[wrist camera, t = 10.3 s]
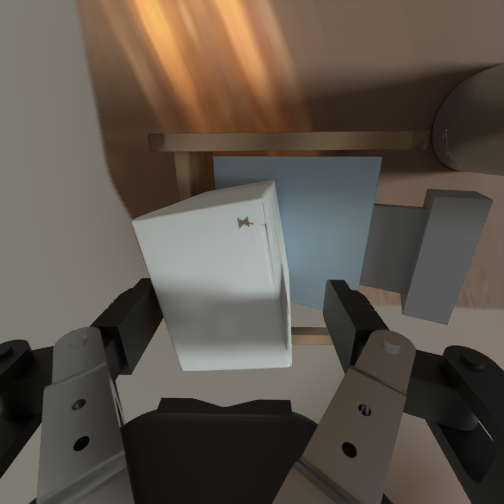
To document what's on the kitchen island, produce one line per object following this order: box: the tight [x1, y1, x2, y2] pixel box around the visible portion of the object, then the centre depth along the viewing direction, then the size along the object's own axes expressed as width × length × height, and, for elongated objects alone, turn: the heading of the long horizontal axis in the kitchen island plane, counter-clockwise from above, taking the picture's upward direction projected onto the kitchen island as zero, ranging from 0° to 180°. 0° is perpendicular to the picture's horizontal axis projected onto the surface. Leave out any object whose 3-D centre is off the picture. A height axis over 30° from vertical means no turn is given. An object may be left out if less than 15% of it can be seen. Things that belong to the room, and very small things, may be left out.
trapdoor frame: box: [148, 131, 430, 345], centre depth 23 cm, size 15×15×14 cm
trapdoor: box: [213, 156, 493, 325], centre depth 19 cm, size 18×12×3 cm, turn 91°
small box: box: [131, 180, 292, 371], centre depth 15 cm, size 8×6×10 cm
